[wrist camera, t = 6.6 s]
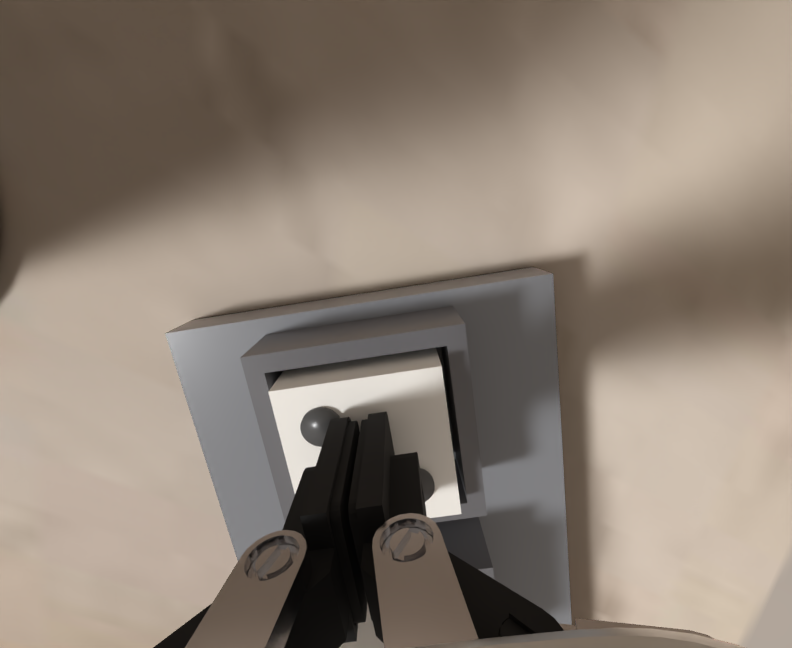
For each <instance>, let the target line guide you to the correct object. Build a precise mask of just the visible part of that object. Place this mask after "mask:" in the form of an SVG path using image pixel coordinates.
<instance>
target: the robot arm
mask: <svg viewBox="0 0 792 648" xmlns="http://www.w3.org/2000/svg"><path fill="white" fill-rule="evenodd" d="M367 603H368V607H369V612H370V616H371V620H372V621H373V625H374V630H375V634H376V637H377V638H378V639H379V640H380V641H381V642H383V643H384V648H745V647H742V646H739V645H736V644H732V643H728V642H724V641H720V640H716V639H714V638H712V637H710V636H708V635H706V634H702V633H698V632H694V631H690V630H683V629H673V628H664V627H655V626H645V625H636V624H627V623H617V622H608V621H599V620H589V619H580V618H575V625H569V624H560V623H558V622H557V621H556V619H555V618H554V617H552V616H551V615H550V614H549V613H547V612H546V611H545V610H544V609H542V608H540V607H539V606H537V605H535V604H534V603H532V602H530V601H529V600H527V599H526V598H524V597H522V596H521V595H519V594H517V593H516V592H514V591H512V590H511V589H509V588H507V587H506V586H504V585H503V584H501V583H499V582H498V581H496V580H494V579H493V578H491V577H489V576H488V575H486V574H485V573H483V572H481V571H480V570H478V569H476V568H475V567H473V566H471V565H470V564H468V563H466V562H465V561H463V560H462V559H460V558H458V557H457V556H455V555H453V554H452V553H450V552H448V551H447V548H446V546H445V543H444V540H443V537H442V534H441V531H440V529H439V528H438V526H437V524H436V523H435V522H434V521H433V520H431V519H430V518H429V517H427V515H426V506H425V498H424V491H423V484H422V477H421V471H420V465H419V459H418V453H417V452H413V453H406V454H399V455H395V453H394V447H393V442H392V436H391V431H390V425H389V419H388V415H387V411H386V412H379V413H372V414H368V419H365V420H362V421H361V428H360V431H359V426H358V422H357V421H351V419H350V417H345V418H338V419H331V420H330V423H329V426H328V429H327V432H326V435H325V438H324V441H323V445H322V448H321V451H320V454H319V457H318V460H317V463H316V466H314V467H307V468H305V470H304V471H303V474H302V477H301V480H300V482H299V485H298V488H297V491H296V493H295V496H294V499H293V502H292V505H291V507H290V510H289V513H288V516H287V518H286V521H285V524H284V527H283V529H282V531H276V532H273V533H270V534H268V535H265V536H264V537H262V538H260V539H259V540H257V541H256V542H254V543H253V544H252V545H251V546H250V547H248V548H247V550H246V551H245V552H244V554H243V555H242V556H241V557H240V559H239V561H238V562H237V564H236V566H235V567H234V569H233V570H232V572H231V574H230V575H229V577H228V579H227V580H226V582H225V583H224V585H223V587H222V588H221V590H220V592H219V593H218V595H217V596H216V598H215V600H214V601H213V603H212V604H211V605H209V606H208V607H207V608H205V609H204V610H203V611H201V612H200V613H199V614H197V615H196V616H195V617H193V618H192V619H191V620H189V621H188V622H187V623H185V624H184V625H183V626H181V627H180V628H179V629H177V630H176V631H175V632H173V633H172V634H171V635H169V636H168V637H167V638H165V639H164V640H163V641H161V642H160V643H159V644H158V645H156V646H155V647H154V648H339V647H340V646H341V645H342V644H343V643H347V642H355V641H357V632H358V623H363V622H365V621H366V616H367Z"/></svg>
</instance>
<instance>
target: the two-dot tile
mask: <svg viewBox="0 0 792 648" xmlns="http://www.w3.org/2000/svg"><path fill="white" fill-rule="evenodd" d="M268 393H269V397H270V401H271V405H272V408H273V412H274V416H275V420H276V424H277V428H278V431H279V435H280V439H281V443H282V447H283V451H284V455H285V458H286V462H287V466H288V470H289V474H290V478H291V482H292V485H293V489H294V493H296V491H297V488H298V485H299V482H300V480H301V477H302V474H303V471H304V470H305V468H307V467H314V466H316V463H317V460H318V457H319V454H320V451H321V448H322V445H323V441H324V438H325V435H326V432H327V429H328V426H329V423H330V420H331V419H338V418H345V417H350V419H351V421H357V422H358V426H359V431H360V428H361V421H362V420H365V419H368V414H372V413H379V412H386V411H387V415H388V419H389V425H390V431H391V436H392V442H393V447H394V453H395V455H399V454H406V453H413V452H417V453H418V459H419V465H420V471H421V477H422V484H423V491H424V498H425V506H426V515H427V517H429V518H435V517H443V516H450V515H458V514H461V506H460V499H459V491H458V484H457V476H456V469H455V461H454V454H453V447H452V439H451V432H450V424H449V417H448V409H447V402H446V394H445V387H444V380H443V372H442V366H441V362H440V359H439V356H438V353H437V350H436V348H429V349H423V350H416V351H409V352H403V353H396V354H389V355H383V356H376V357H369V358H362V359H356V360H349V361H342V362H336V363H329V364H322V365H316V366H309V367H302V368H296V369H289V370H284V371H283V372H282V374H281V375H280V376H279V378H278V379H277V380H276V382H275V383H274V385H273V386H272V387H271V389H270V390H269V391H268Z"/></svg>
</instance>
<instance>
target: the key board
mask: <svg viewBox="0 0 792 648" xmlns="http://www.w3.org/2000/svg"><path fill="white" fill-rule="evenodd" d="M165 335H166V338H167V341H168V344H169V347H170V350H171V353H172V356H173V360H174V363H175V366H176V369H177V372H178V375H179V378H180V381H181V385H182V388H183V391H184V394H185V397H186V400H187V403H188V406H189V410H190V413H191V416H192V419H193V422H194V425H195V428H196V431H197V435H198V438H199V441H200V444H201V447H202V450H203V453H204V456H205V460H206V463H207V466H208V469H209V472H210V475H211V478H212V481H213V485H214V488H215V491H216V494H217V497H218V500H219V503H220V507H221V510H222V513H223V516H224V519H225V522H226V525H227V528H228V532H229V535H230V538H231V541H232V544H233V547H234V550H235V553H236V557H237V560H238V561H239V559H240V557H241V556H242V555H243V554H244V552H245V551H246V550H247V548H248V547H250V546H251V545H252V544H253V543H254V542H256V541H257V540H259V539H260V538H262V537H264V536H265V535H268V534H270V533H273V532H276V531H282V529H283V527H284V524H285V521H286V518H287V516H288V513H289V510H290V507H291V505H292V502H293V499H294V496H295V493H294V489H293V485H292V482H291V478H290V474H289V470H288V466H287V462H286V458H285V455H284V451H283V447H282V443H281V439H280V435H279V431H278V428H277V424H276V420H275V416H274V412H273V408H272V405H271V401H270V397H269V393H268V391H269V390H270V389H271V387H272V386H273V385H274V383H275V382H276V380H277V379H278V378H279V376H280V375H281V374H282V372H283V371H284V370H289V369H296V368H302V367H309V366H316V365H322V364H329V363H336V362H342V361H349V360H356V359H362V358H369V357H376V356H383V355H389V354H396V353H403V352H409V351H416V350H423V349H429V348H436V350H437V353H438V356H439V359H440V362H441V366H442V372H443V380H444V387H445V394H446V402H447V409H448V417H449V424H450V432H451V439H452V447H453V454H454V461H455V469H456V476H457V484H458V491H459V499H460V506H461V514H458V515H450V516H443V517H435V518H430V519H431V520H433V521H434V522H435V523H436V524H437V526H438V528H439V529H440V531H441V534H442V537H443V540H444V543H445V546H446V548H447V551H448V552H450V553H452V554H453V555H455V556H457V557H458V558H460V559H462V560H463V561H465V562H466V563H468V564H470V565H471V566H473V567H475V568H476V569H478V570H480V571H481V572H483V573H485V574H486V575H488V576H489V577H491V578H493V579H494V580H496V581H498V582H499V583H501V584H503V585H504V586H506V587H507V588H509V589H511V590H512V591H514V592H516V593H517V594H519V595H521V596H522V597H524V598H526V599H527V600H529V601H530V602H532V603H534V604H535V605H537V606H539V607H540V608H542V609H544V610H545V611H546V612H547V613H549V614H550V615H551V616H552V617H554V618H555V619H556V621H557V622H558V623H560V624H569V625H572V619H571V600H570V581H569V562H568V544H567V525H566V506H565V487H564V468H563V450H562V431H561V412H560V393H559V375H558V356H557V337H556V318H555V299H554V281H553V273H550V272H547V271H544V270H541V269H538V268H535V267H530V268H524V269H517V270H511V271H504V272H498V273H491V274H485V275H479V276H472V277H466V278H459V279H453V280H446V281H440V282H433V283H427V284H421V285H414V286H408V287H401V288H395V289H388V290H382V291H376V292H369V293H363V294H356V295H350V296H343V297H337V298H330V299H324V300H318V301H311V302H305V303H298V304H292V305H285V306H279V307H272V308H266V309H260V310H253V311H247V312H240V313H234V314H227V315H221V316H215V317H208V318H202V319H195V320H191V321H189V322H187V323H185V324H183V325H181V326H179V327H177V328H175V329H173V330H171V331H169V332H167V333H165Z"/></svg>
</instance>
